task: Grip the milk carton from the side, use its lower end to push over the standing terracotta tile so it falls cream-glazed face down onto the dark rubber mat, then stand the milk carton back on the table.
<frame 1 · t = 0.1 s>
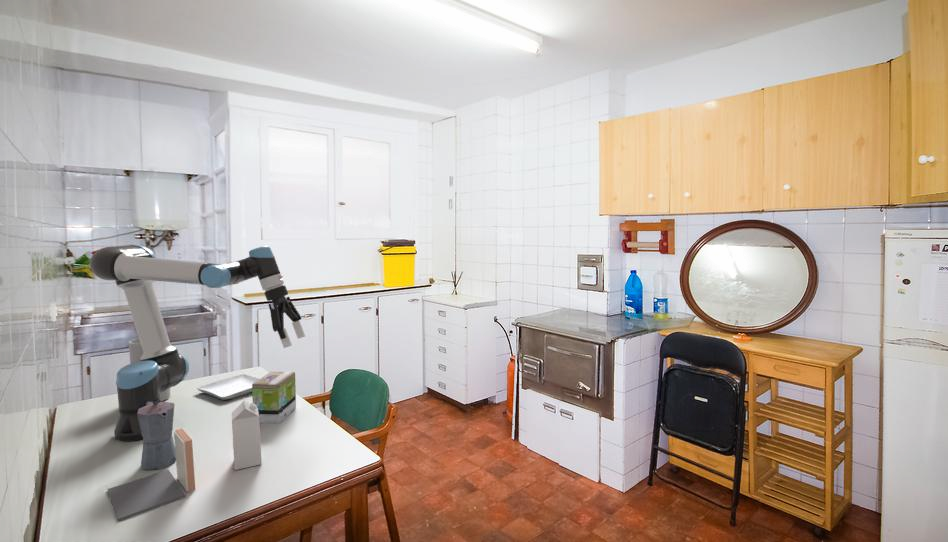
hand: (295, 342, 171), 28 cm above the table, tool tilted 20°, fingers open, 13 cm apart
moka pot: (158, 463, 139), on the table
terracotta tile: (186, 483, 128), on the table
tea box: (275, 416, 173), on the table
salad plate: (234, 392, 200), on the table
cylinder vase: (152, 400, 190), on the table
rubber mat: (146, 494, 123), on the table
milk carton: (248, 463, 139), on the table
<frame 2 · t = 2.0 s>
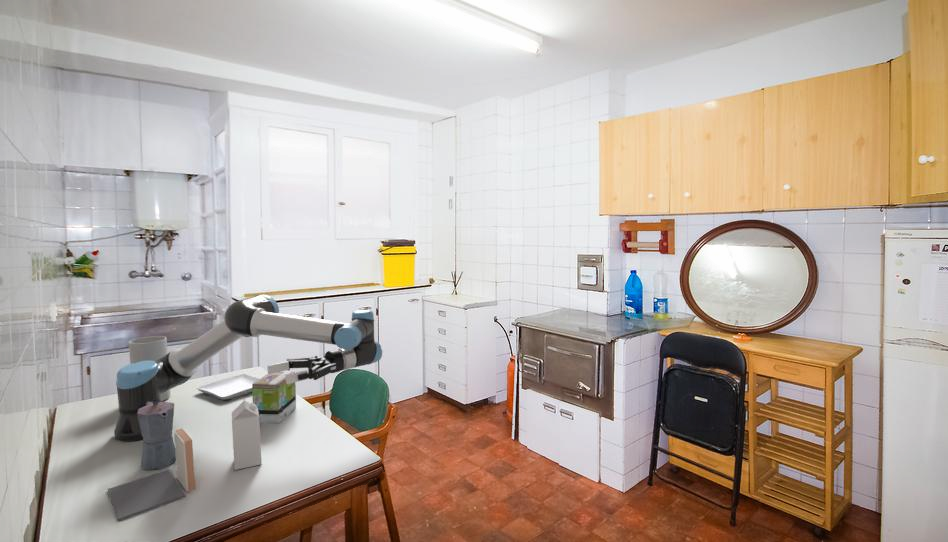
hand: (276, 374, 143), 25 cm above the table, tool horizontal, fingers open, 13 cm apart
nothing on the table moved.
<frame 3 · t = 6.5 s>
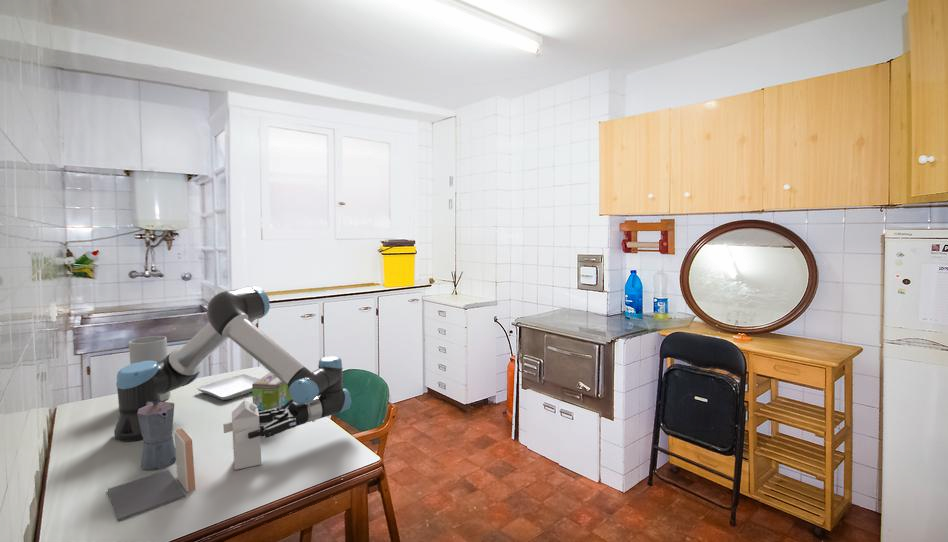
hand: (229, 433, 135), 11 cm above the table, tool horizontal, fingers closed on milk carton, 9 cm apart
milk carton: (248, 463, 139), on the table, touching gripper
everything else where it was.
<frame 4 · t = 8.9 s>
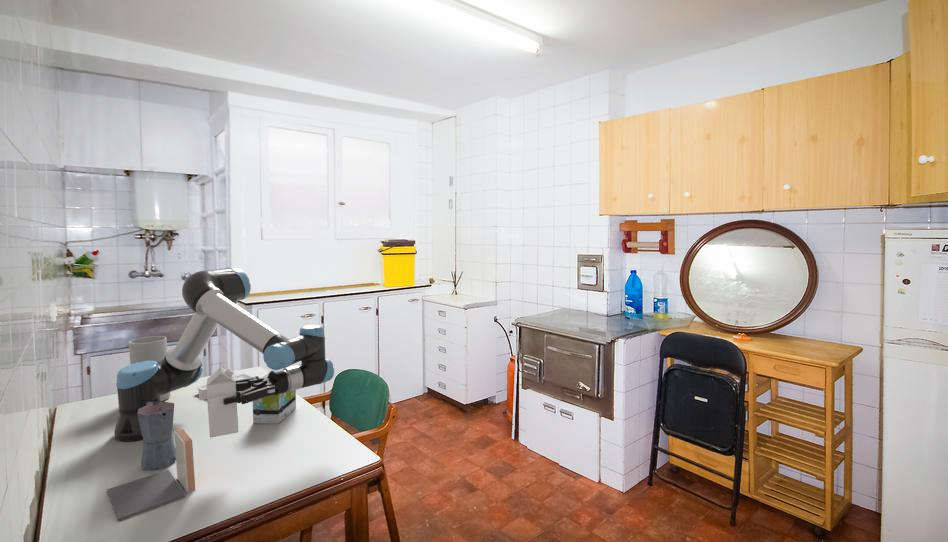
hand: (204, 399, 129), 22 cm above the table, tool horizontal, fingers closed on milk carton, 9 cm apart
milk carton: (224, 431, 134), point 12 cm above the table, touching gripper
everything else where it was.
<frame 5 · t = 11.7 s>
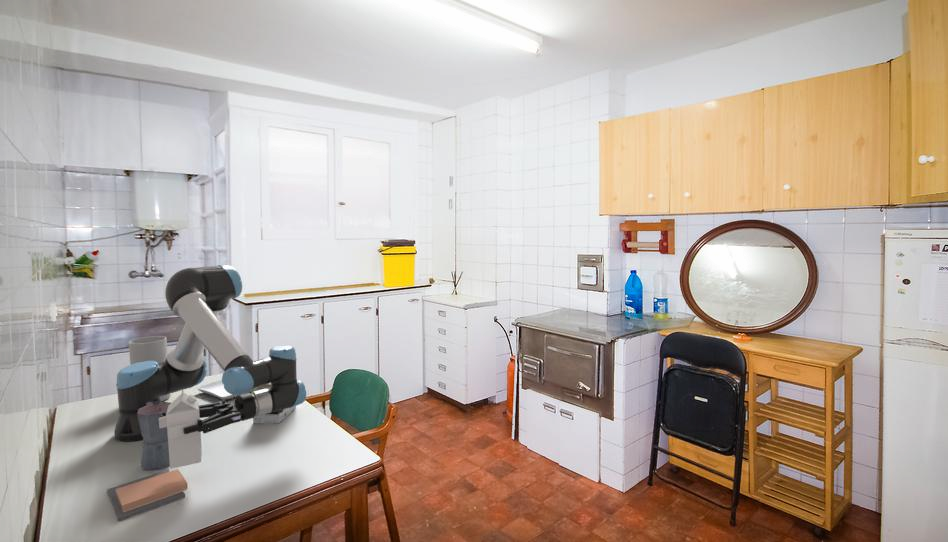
hand: (163, 428, 122), 17 cm above the table, tool horizontal, fingers closed on milk carton, 9 cm apart
terracotta tile: (182, 478, 127), point 2 cm above the table, tilted 90°, touching rubber mat
milk carton: (186, 461, 127), point 7 cm above the table, touching gripper
everything else where it was.
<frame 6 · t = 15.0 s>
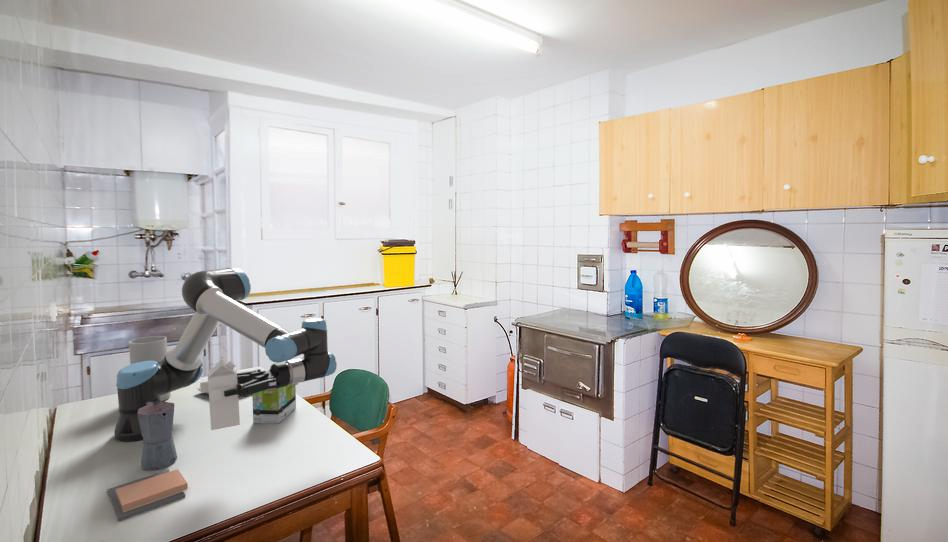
hand: (205, 391, 129), 25 cm above the table, tool horizontal, fingers closed on milk carton, 9 cm apart
milk carton: (225, 424, 133), point 14 cm above the table, touching gripper
everything else where it was.
when the fingers open (12 cm above the table, at t = 18.2 s): milk carton drops 1 cm, on the table.
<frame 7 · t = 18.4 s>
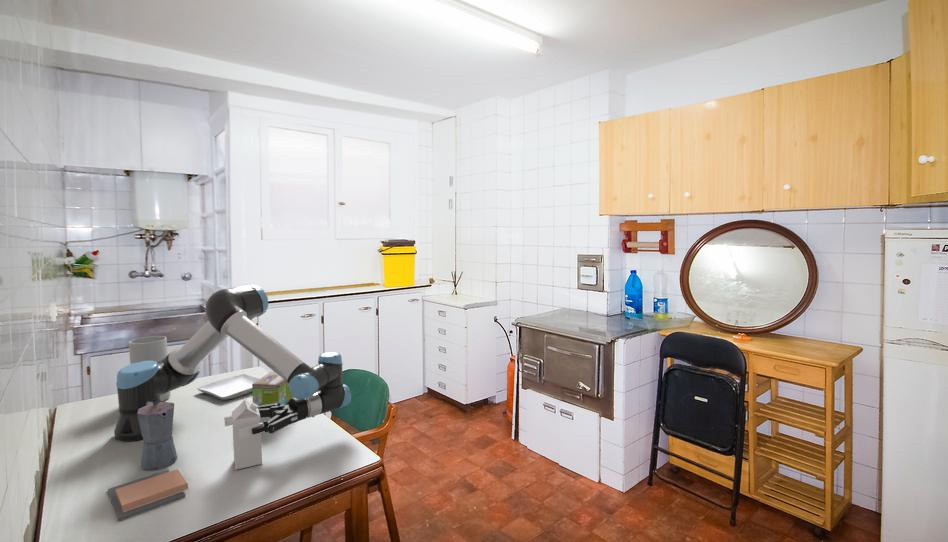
hand: (231, 427, 135), 12 cm above the table, tool horizontal, fingers open, 11 cm apart
milk carton: (248, 462, 139), on the table
everything else where it was.
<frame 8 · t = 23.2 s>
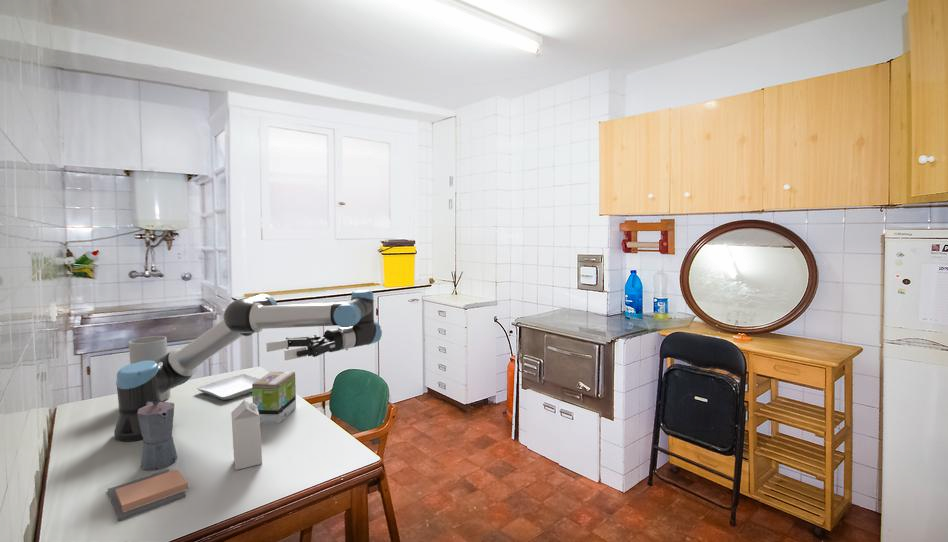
hand: (275, 351, 143), 32 cm above the table, tool horizontal, fingers open, 13 cm apart
nothing on the table moved.
at the end: terracotta tile tilted 90°; terracotta tile touching rubber mat; milk carton inside the target area (0.1 cm from its centre), on the table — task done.
